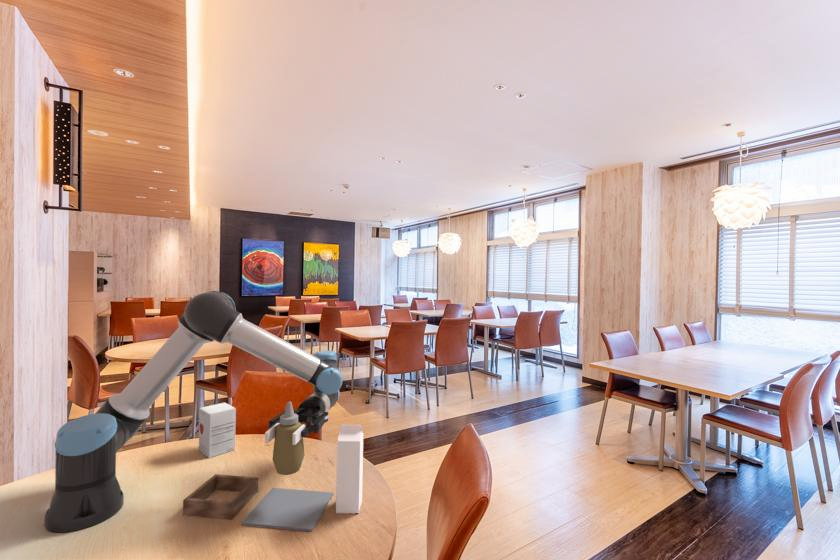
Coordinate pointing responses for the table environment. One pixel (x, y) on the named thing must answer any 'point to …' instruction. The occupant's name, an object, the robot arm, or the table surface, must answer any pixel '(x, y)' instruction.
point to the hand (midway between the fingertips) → (280, 438)
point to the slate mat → (289, 509)
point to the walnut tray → (217, 509)
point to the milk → (349, 469)
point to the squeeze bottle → (287, 444)
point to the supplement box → (217, 429)
